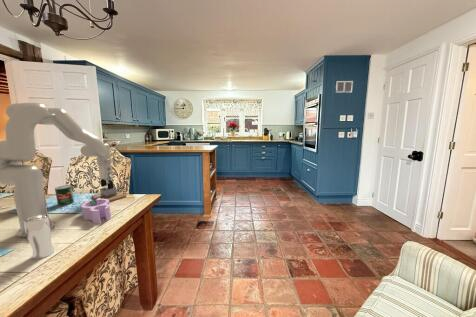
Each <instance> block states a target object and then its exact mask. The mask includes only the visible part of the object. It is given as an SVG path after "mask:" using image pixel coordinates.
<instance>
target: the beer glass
mask: <svg viewBox="0 0 476 317" xmlns="http://www.w3.org/2000/svg"><path fill="white" fill-rule="evenodd" d="M51 222H52V221H51V220H50V216H49V214H40V215H35V216H32V217H29V218H27V219H25V220H24V227H25V233H26V236H27V237H26V239H27V240H28V242H29V245H30V246H31V249H32V259H34V260H40V259H44V258H46V257H48V256H51V255H52V254H53V253H55V247H54V246H53V244H52V233H53V232H52V228H51Z"/></svg>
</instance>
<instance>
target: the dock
mask: <svg viewBox="0 0 476 317" xmlns="http://www.w3.org/2000/svg"><path fill="white" fill-rule="evenodd" d="M102 188H104V189H105V190H108V185H107V186H104V187H102ZM116 192H117V195H115V196H111V197H108V198H104V197H102V196H101V193H98V194H94V195H91V199H93V200H95V201H97V199H98V198H101V199H108V200H109V203H111V202H112V203H113V202H115V201H117V200H120V199H121V200H122V199H124V198H127V194H125V193H124V192H123V193H122V192H120V191H117V190H116Z"/></svg>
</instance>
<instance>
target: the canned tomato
mask: <svg viewBox="0 0 476 317" xmlns="http://www.w3.org/2000/svg"><path fill="white" fill-rule="evenodd" d="M54 191H55V193H54V194H55V198H56V203H57V207H65V206H69V205H72V204H73V203H75V201H74V200H75V199H74V195H73V188H72V185H70V184H65V185H58V186H57V187H54Z"/></svg>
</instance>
